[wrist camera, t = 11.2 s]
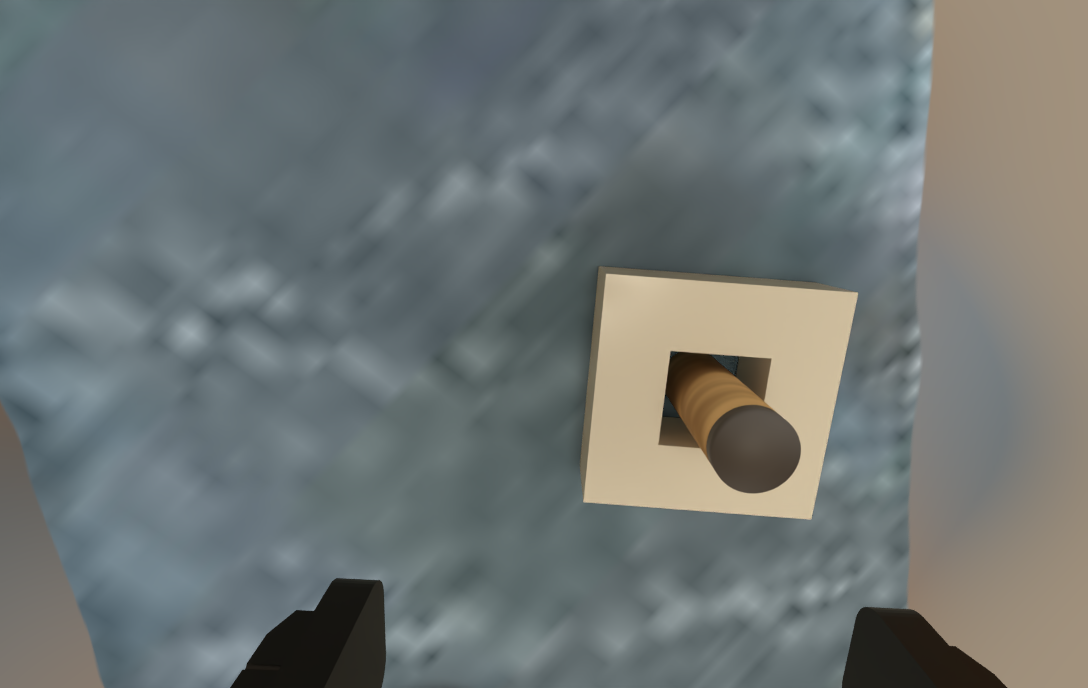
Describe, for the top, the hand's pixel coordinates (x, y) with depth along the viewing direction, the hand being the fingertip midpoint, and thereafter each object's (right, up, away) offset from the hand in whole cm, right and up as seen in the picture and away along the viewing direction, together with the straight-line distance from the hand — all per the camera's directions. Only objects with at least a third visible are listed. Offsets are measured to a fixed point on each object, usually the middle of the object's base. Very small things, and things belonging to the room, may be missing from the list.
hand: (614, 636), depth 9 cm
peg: (+9, +3, +27) cm, 29 cm away
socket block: (+9, +3, +27) cm, 29 cm away
